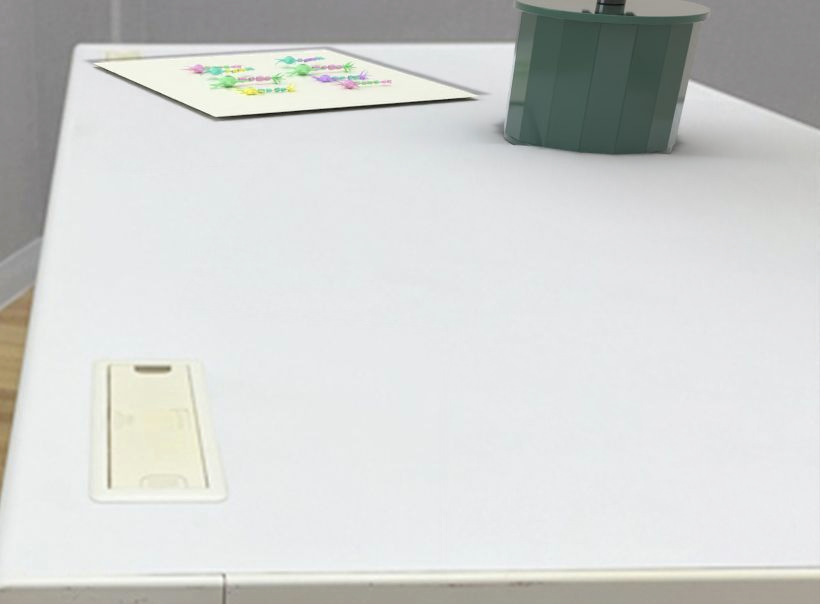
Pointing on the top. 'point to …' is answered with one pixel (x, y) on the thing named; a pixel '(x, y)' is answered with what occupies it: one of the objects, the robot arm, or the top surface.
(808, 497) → the top surface
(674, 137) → the tin
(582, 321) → the top surface
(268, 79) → the printed paper
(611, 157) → the top surface
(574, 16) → the tin lid
